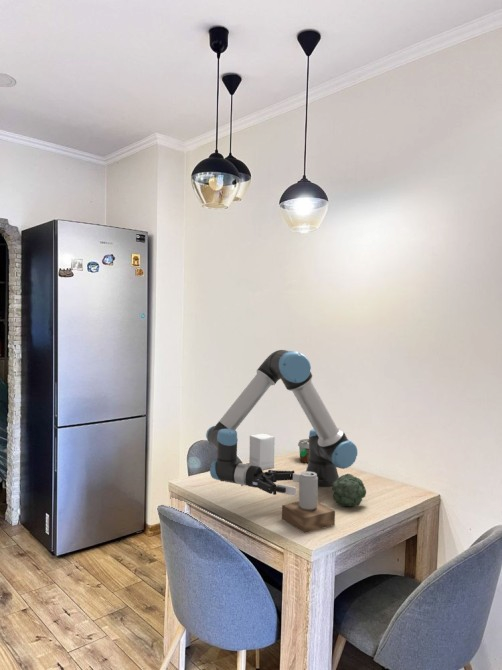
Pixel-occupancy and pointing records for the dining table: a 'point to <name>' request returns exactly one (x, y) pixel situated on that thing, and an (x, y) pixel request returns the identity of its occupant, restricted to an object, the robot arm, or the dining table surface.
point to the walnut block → (308, 517)
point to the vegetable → (348, 490)
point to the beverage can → (308, 490)
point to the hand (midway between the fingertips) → (302, 485)
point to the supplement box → (262, 451)
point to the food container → (304, 450)
